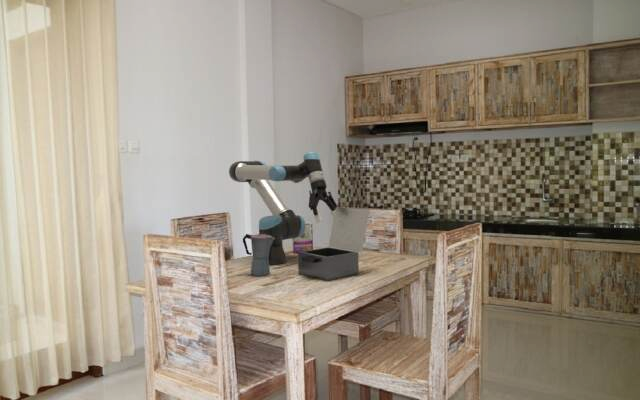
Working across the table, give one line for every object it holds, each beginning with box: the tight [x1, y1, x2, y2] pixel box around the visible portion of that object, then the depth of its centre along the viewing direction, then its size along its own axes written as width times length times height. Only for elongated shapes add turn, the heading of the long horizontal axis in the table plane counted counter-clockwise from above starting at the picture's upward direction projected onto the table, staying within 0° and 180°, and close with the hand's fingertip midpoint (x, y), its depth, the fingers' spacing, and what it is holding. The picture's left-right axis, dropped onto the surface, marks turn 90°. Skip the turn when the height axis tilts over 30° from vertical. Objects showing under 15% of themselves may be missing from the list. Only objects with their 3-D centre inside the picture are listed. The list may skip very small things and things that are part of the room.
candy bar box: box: [291, 222, 314, 254], centre depth 278 cm, size 11×5×16 cm, turn 102°
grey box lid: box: [328, 206, 370, 253], centre depth 225 cm, size 21×19×1 cm
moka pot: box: [242, 230, 275, 277], centre depth 220 cm, size 10×15×20 cm, turn 78°
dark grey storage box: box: [297, 246, 360, 282], centre depth 217 cm, size 20×20×10 cm
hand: (328, 222), depth 234 cm, fingers open, 13 cm apart
